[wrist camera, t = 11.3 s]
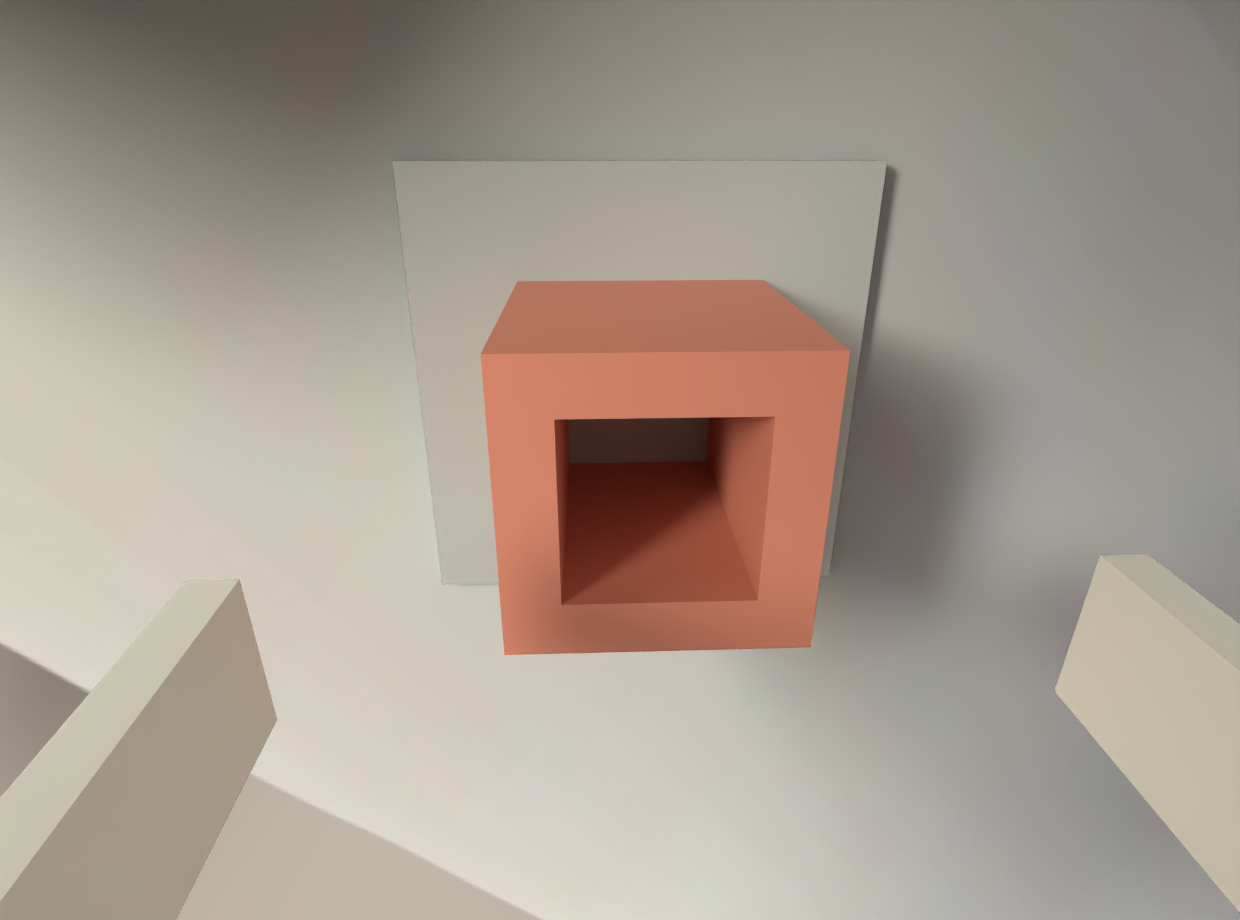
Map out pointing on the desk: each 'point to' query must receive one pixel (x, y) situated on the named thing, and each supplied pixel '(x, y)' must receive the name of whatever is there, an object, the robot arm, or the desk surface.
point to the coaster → (610, 251)
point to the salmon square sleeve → (660, 466)
